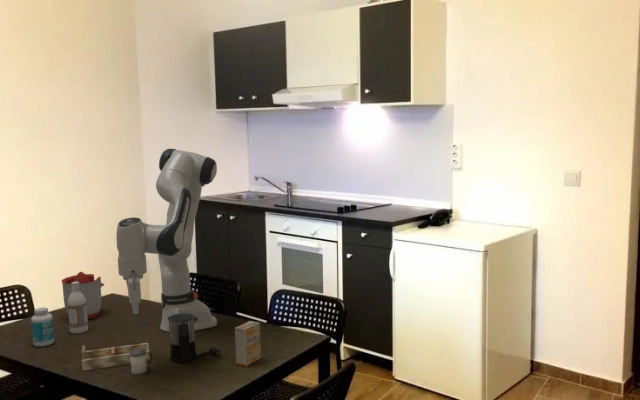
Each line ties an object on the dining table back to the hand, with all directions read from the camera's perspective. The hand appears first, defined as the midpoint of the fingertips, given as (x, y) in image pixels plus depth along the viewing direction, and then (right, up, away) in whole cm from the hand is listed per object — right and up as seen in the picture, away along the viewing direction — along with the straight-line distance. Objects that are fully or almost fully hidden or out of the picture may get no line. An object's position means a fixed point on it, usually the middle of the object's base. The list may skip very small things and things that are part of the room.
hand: (135, 309), depth 204 cm
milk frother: (+17, -20, +14) cm, 29 cm away
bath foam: (-36, -17, +44) cm, 59 cm away
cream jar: (0, -21, +3) cm, 21 cm away
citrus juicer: (-40, -14, +63) cm, 76 cm away
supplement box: (+37, -20, +8) cm, 42 cm away
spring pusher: (-11, -19, +12) cm, 25 cm away
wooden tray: (-10, -20, +12) cm, 25 cm away
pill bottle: (-44, -19, +31) cm, 57 cm away
